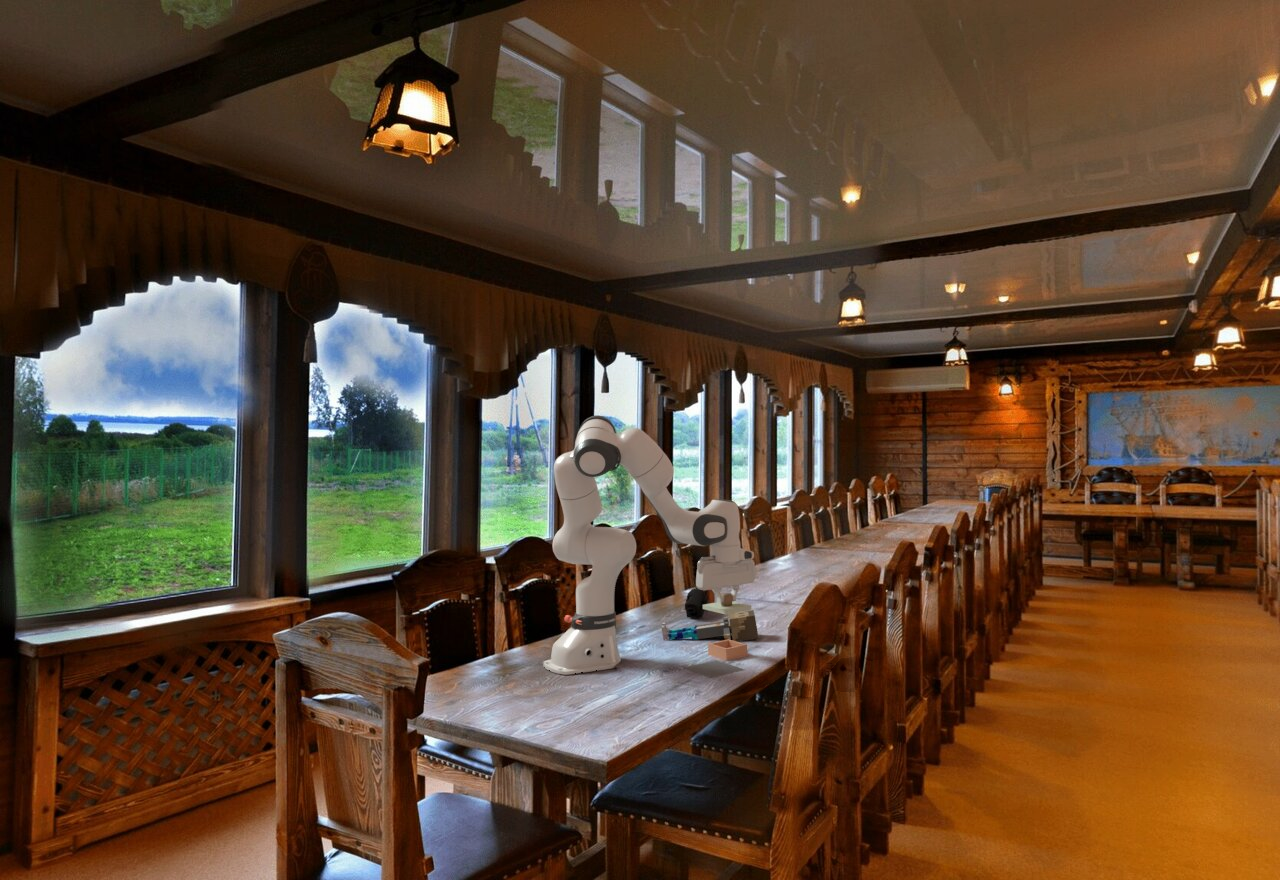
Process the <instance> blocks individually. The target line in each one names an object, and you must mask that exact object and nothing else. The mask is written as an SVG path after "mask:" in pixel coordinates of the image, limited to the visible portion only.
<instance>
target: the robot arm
mask: <svg viewBox="0 0 1280 880" xmlns="http://www.w3.org/2000/svg"><path fill="white" fill-rule="evenodd" d="M620 466H622V467H623V468H624V469H625V470H626V471H627V473H629V474H628V475H630V476H631V477H632V479H633V480H634V481H635V482H636V483H637V484H638V486H639V487H640V489H641V491H642V493H643V494H644V496H645V498H646V499H647V501H648V502H649V504H650V505H651V506H652V508H653V509H654V511H655V512H656V514H657V515H658V516H659V517H660V520H661V521H662V523H663V526H664V530H665V532H666V535H667V537H668V538H669V539H670V541H672V542H673V543H675V544H679V545H690V546H691V545H692V546H700V547H707V546H709V551H710V554H709V556H702V557H701V558H700V559H699V560H698V562H697V564H696V565H697V567H696V568H697V569H696V577H695V587H696V586H697V588H698V589H700V590H712V591H713V592H714V594H715V598H716V602H717V603H724V597H722V596H721V594H722V593H721V592H722V588H728V587H730V588H731V591H730V593H731V594H732V601H734V602H737V595H738V592H739V590H740V586H742V585H747V584H748V585H749V584H754V583H755V580H756V564H755V560H754V557H755V552H754V551H753V550H749V549H745V548H741V547H742V546H741V540H740V532H741V518H740V510H739V505H738V504H737V503H736V502H735V501H734V500H732V499H731V500H730V499H722V498H714V499H712V500H711V501H710V503H709V504H707V505H706V506H705V507H704V508H702V509H701V510H698V511H693V510H687V509H685V508H683V507H681V506H679V505H678V504H677V502H676V501H675V499H674V498H673V496H672V495H671V493H670V492H669V490H668V488H667V487H668V486H669V485H670V483H671V482H672V480H673V477H674V471H675V468H674V466H673V464H672V462H671V459H669V457H668V455H667V454H666V453H665V452H664V451H663V449H662V448H661V447H660V446H659V445H658V444H657V443H656V441H655V440H654V439H653V438H651V436H649V434H647V433H646V432H645V431H644V430H642V429H641V428H639V427H630V428H627V429H625V430H623V431H622V432H618V433H617V431H616V428H615V425H614V424H613V422H612V421H611V419H609V418H607V417H605V416H603V415H596V414H595V415H592V416H590V417H587V418H586V419H585V420H584V421H583V422H582V423H581V424H580V426H579V429H578V431H577V435H576V438H575V441H574V449H573V450H571V451H567V452H564V453H562V454H561V455H559V456H557V458H556V459H555V460H554V464H553V474H554V475H553V476H554V482H555V488H556V491H557V494H558V497H559V501H560V505H561V509H562V513H563V524H562V526H561V528H560V529H559V530H557V532H556V533H555V535H554V536H553V540H552V552H553V554H554V556H555V558H556V559H558V561H561V562H565V563H568V564H572V565H588V566H590V565H591V566H592V567H591V568H592V569H591V574H590V576H587V577H585V578H583V579H582V580H581V581H579V582H578V584H577V585H576V588H575V606H576V607H575V609H576V610H575V611H576V612H575V613H574V615H573V616H572V615H570V614H567V615H565V617H563V620H564V622H566V623H569V624H570V627H569V628H568V629H567V630H566V632H564V633H563V634H562V635H561V636H560V637H559V638H557V640H556V641H555V642H554V643H553V645H552V648H551V652H550V653H551V654H550V655H551V656H550V659H547V660H544V661H543V668H544V667H545V668H544V669H545V670H547V671H549V670H550V672H552V673H554V674H558V675H565V676H566V675H567V676H568V675H575V673H576V674H582V673H581V672H583V673H590V672H596V670H597V671H603V670H610V669H615V668H617V665H618V664H619V663H620V662H621V661H622V657H621V655H620V652H619V648H618V642H617V635H616V634H617V633H616V627H617V615H616V613H617V612H616V611H615V591H616V590H615V589H616V588H615V587H616V583H617V579H618V577H619V575H620V573H621V571H622V570H623V569H624V567H626V566H627V565H628V564H629V563H630V562H632V561H633V559H634V557H635V555H636V552H637V542H636V538H635V536H634V534H633V533H632V532H631V531H630V530H627V529H623V528H619V527H611V526H609V527H608V526H593V525H592V524H591V523H592V522H594V521H595V520H596V519H597V518H598V517H599V516H600V515H601V513H602V509H603V504H602V503H603V502H602V499H601V495H600V492H599V489H598V485H597V482H596V481H597V480H596V478H598V477H601V476H604V475H605V474H607V473H609V472H612V471H615V470H618V468H619V467H620Z"/></svg>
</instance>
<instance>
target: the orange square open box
mask: <svg viewBox="0 0 1280 880" xmlns="http://www.w3.org/2000/svg"><path fill="white" fill-rule="evenodd" d="M707 655H708V656H711V657H713V658H717V659H720V660H723V661H731V660H735V659H740V658H744V657H748V644H746V643H742V642H741V641H733V639H732V640H729V639H728V640H725V639H724V640H720V641H719V640H718V641H715V642H710V643H709V642H708V643H707Z"/></svg>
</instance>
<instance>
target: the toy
mask: <svg viewBox="0 0 1280 880" xmlns="http://www.w3.org/2000/svg"><path fill="white" fill-rule="evenodd" d="M755 616H756V615H755V610H753V609H751V610H747V611H741V612H736V613H730V614H728V615H727V616H724V617H722V620H720V621H719V620H718V621H713V622H712V621H711V622H707V623H700V624H695V626H690V627H689V626H687V627H683V628H675V629H670V628H668V627H667V625H666V622H662V625H661V628H660V629H661V632H662V633H661V634H662V638H663V641H671V640H670V639H676V640H683V639H690V638H691V641H694V640H695V641H696V640H702V639H708V638H709V639H710V638H715V637H716V638H717V637H723V638H724V640H728V639H729V640H731V638H732V640H733V641H736V642H743V641H751V640H758V639H759V638H760V637H759V633H758V627H757V621H756V617H755ZM665 639H667V640H665Z"/></svg>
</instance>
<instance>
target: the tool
mask: <svg viewBox="0 0 1280 880" xmlns="http://www.w3.org/2000/svg"><path fill="white" fill-rule="evenodd" d="M715 598H716V595H715V594H714V592H713V589H711V590H700V589H698V588H697V586H696V585H695V588H692V589H691V590H690V591H689V592H688V593H687V595H686V599H685V602H684V610H685V613H686V618H689V619H702V618H703V615H704V613H705V611H706V610H705V609H703V605H704V604H710V603H716V602H715V601H716V600H715Z"/></svg>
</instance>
